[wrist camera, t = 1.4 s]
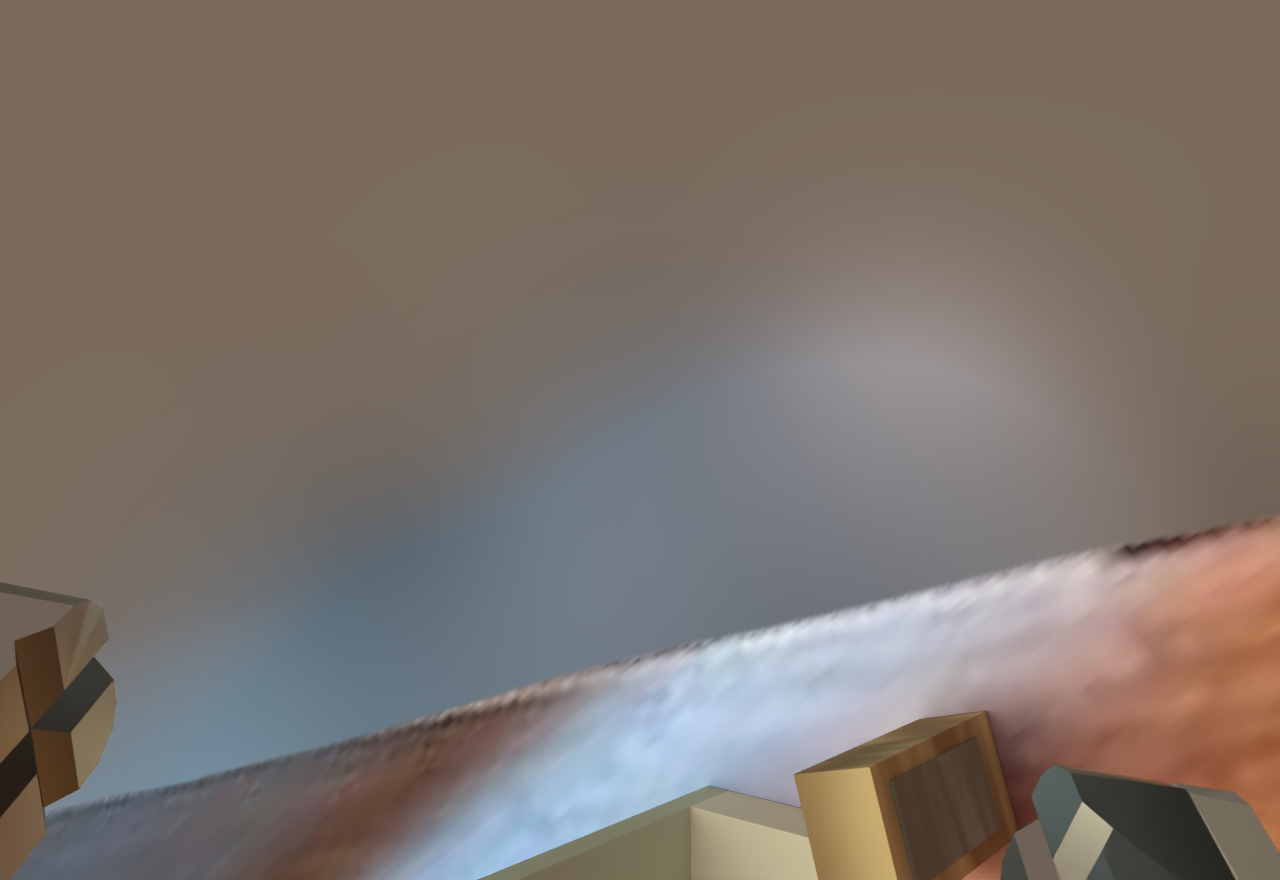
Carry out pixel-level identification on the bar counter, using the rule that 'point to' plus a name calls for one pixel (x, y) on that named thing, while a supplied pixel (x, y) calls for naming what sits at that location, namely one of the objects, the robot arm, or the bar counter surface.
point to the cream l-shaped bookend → (685, 844)
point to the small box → (909, 803)
